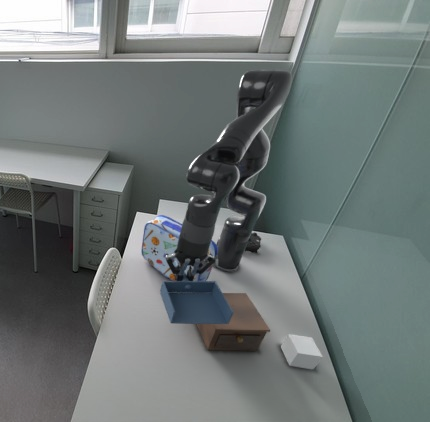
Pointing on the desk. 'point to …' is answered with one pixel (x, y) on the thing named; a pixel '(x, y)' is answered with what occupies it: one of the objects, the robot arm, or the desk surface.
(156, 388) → the desk surface
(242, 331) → the storage box
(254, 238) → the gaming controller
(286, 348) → the white cube
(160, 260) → the lunch box
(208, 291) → the dustpan
